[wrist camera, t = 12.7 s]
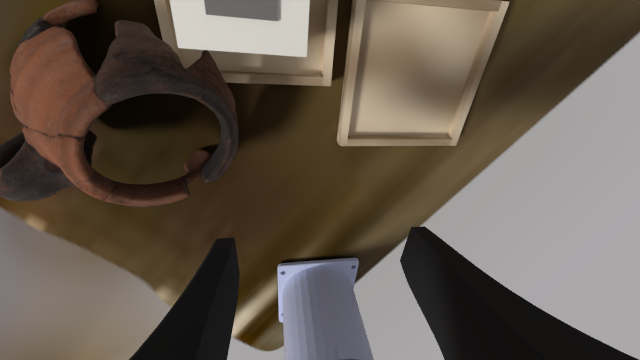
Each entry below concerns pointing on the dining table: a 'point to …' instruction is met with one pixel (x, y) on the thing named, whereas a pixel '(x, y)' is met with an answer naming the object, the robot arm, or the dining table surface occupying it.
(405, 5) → the tray far
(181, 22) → the white marked cube
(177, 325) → the robot arm
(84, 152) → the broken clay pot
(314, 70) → the tray near
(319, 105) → the dining table surface
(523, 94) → the dining table surface
